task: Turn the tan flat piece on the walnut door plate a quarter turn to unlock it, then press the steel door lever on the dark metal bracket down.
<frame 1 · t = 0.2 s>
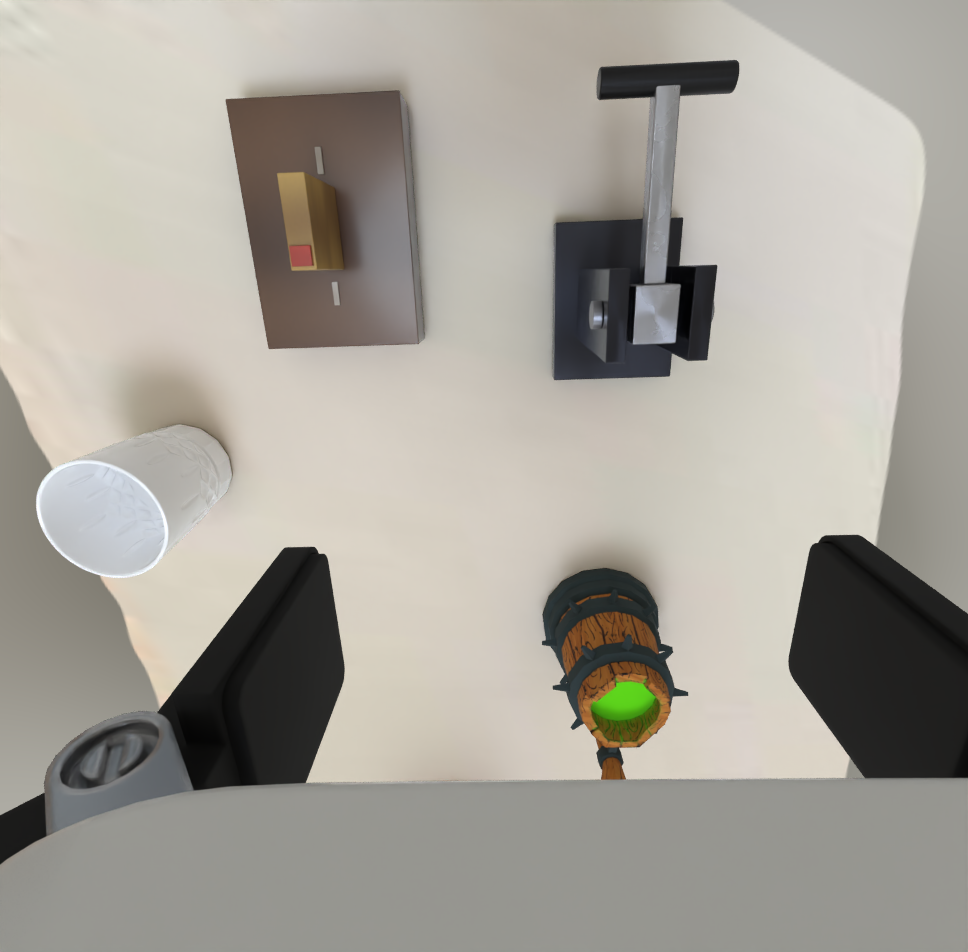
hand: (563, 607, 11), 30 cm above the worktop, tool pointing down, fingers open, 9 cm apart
tan flat piece: (313, 226, 31), point 6 cm above the worktop, hinge at 0.0°
door lever: (656, 213, 26), point 10 cm above the worktop, hinge at 0.0°
mug: (596, 630, 47), on the worktop
white cup: (190, 464, 42), on the worktop
handle bracket: (611, 302, 37), on the worktop
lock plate: (341, 232, 36), on the worktop
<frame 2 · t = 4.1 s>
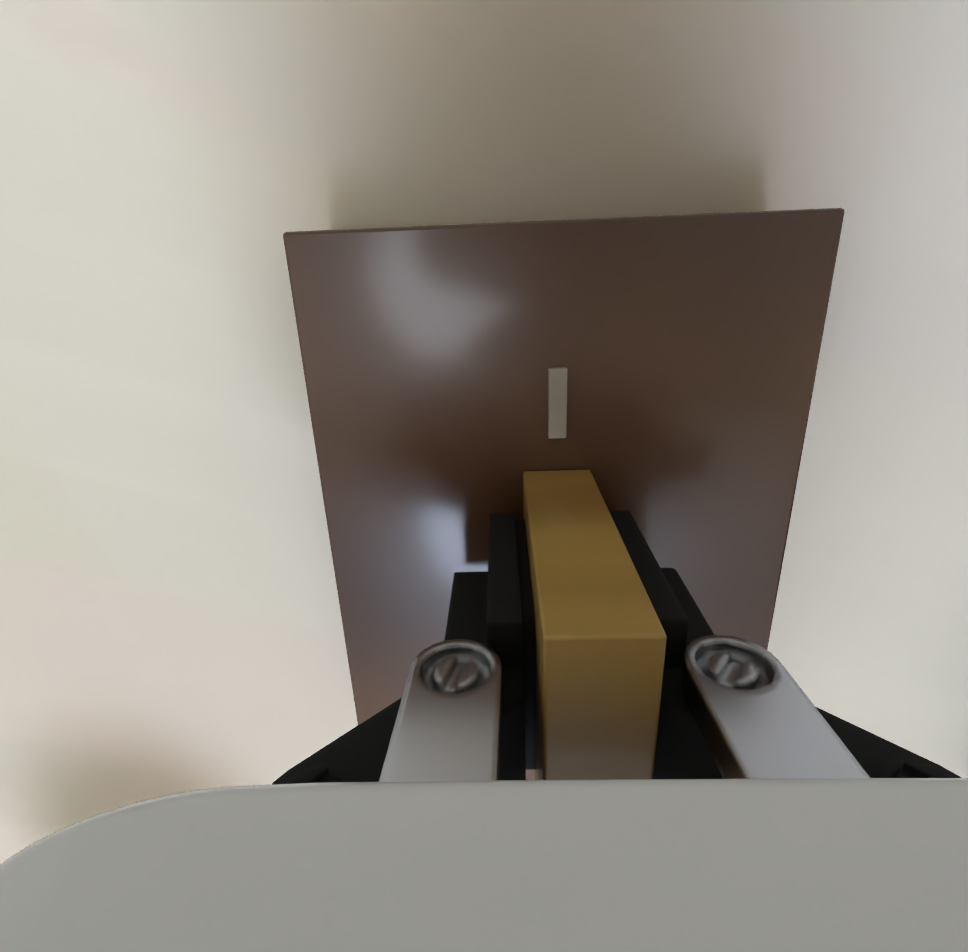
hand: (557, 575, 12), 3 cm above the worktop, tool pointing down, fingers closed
tan flat piece: (572, 651, 9), point 6 cm above the worktop, hinge at 0.0°, touching gripper
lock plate: (544, 510, 15), on the worktop
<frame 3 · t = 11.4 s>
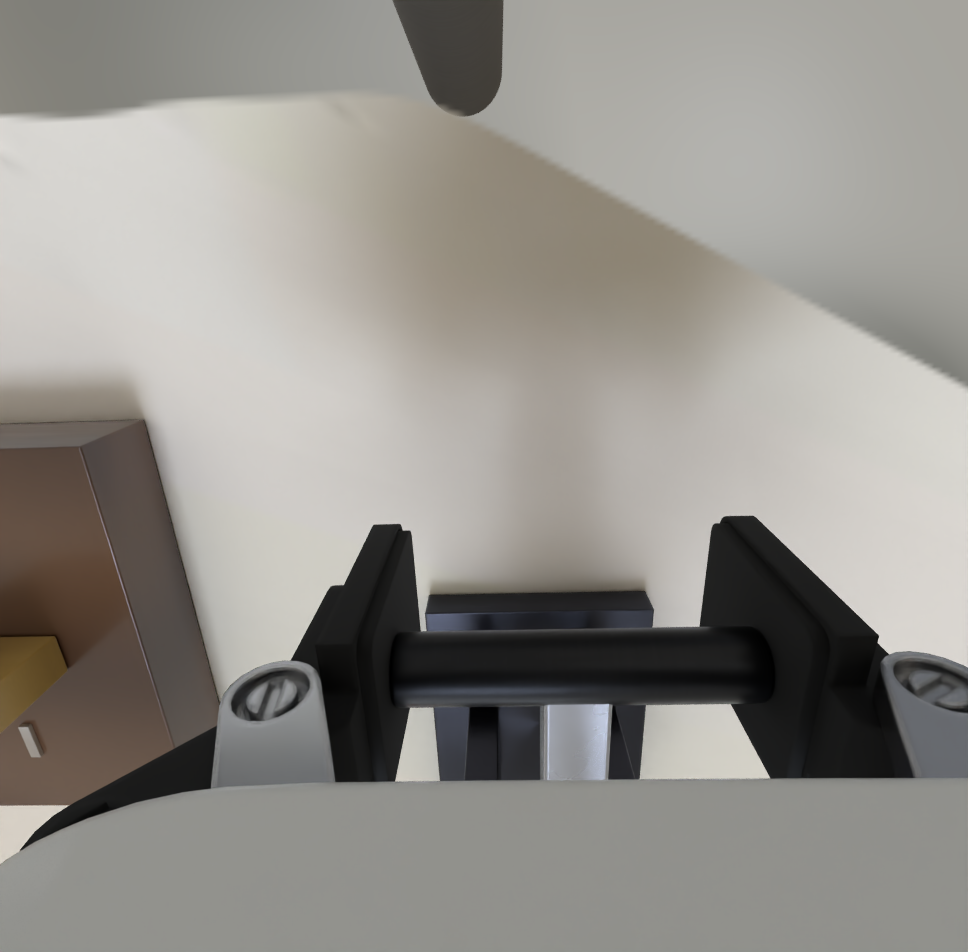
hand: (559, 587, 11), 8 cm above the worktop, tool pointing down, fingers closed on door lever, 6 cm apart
door lever: (569, 884, 11), point 10 cm above the worktop, hinge at 0.0°, touching gripper
handle bracket: (536, 699, 22), on the worktop
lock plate: (63, 601, 21), on the worktop
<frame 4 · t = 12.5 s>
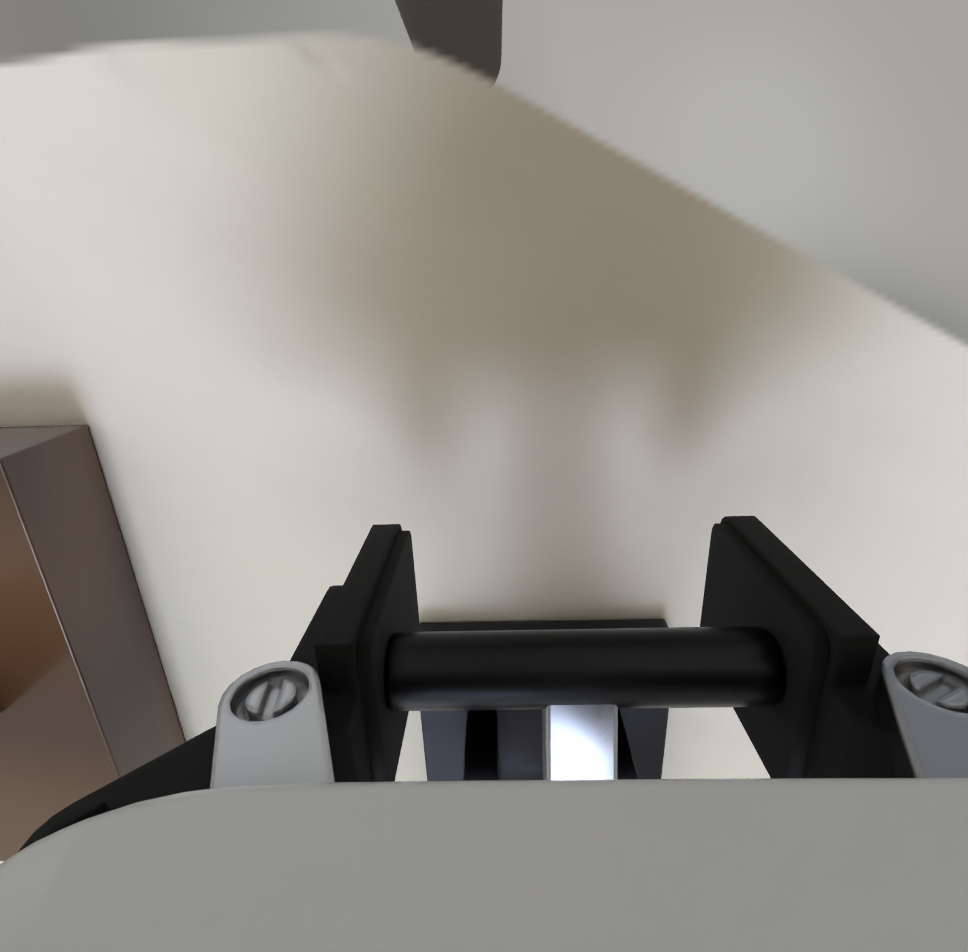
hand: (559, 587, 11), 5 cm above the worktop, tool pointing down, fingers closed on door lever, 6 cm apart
handle bracket: (540, 737, 20), on the worktop
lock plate: (5, 629, 18), on the worktop
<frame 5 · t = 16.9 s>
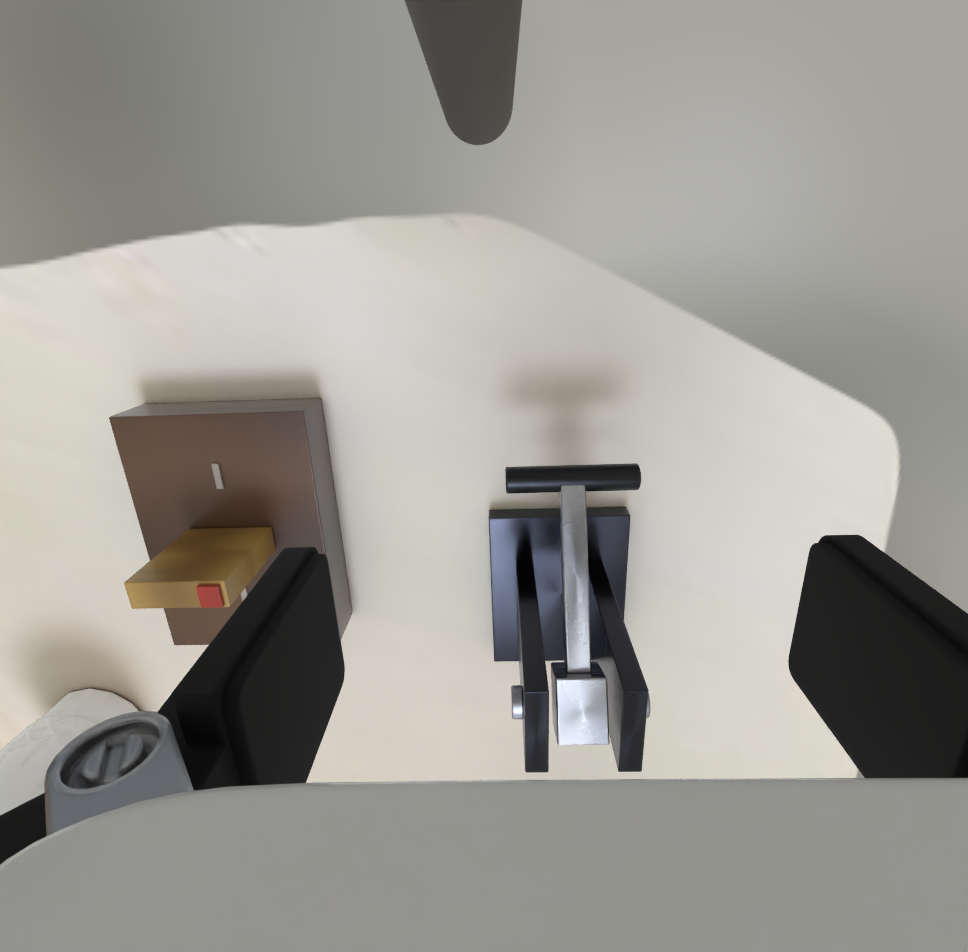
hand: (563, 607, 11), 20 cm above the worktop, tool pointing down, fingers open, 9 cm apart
tan flat piece: (206, 565, 27), point 6 cm above the worktop, hinge at 89.8°
door lever: (575, 597, 25), point 8 cm above the worktop, hinge at -23.1°
white cup: (105, 722, 39), on the worktop
handle bracket: (556, 582, 34), on the worktop
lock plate: (255, 515, 33), on the worktop
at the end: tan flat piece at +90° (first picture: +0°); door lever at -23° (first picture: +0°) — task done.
